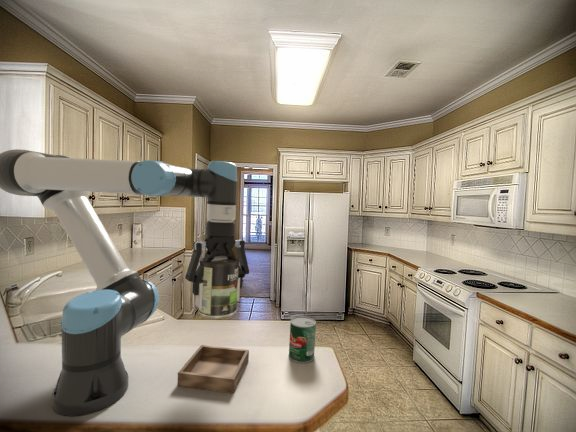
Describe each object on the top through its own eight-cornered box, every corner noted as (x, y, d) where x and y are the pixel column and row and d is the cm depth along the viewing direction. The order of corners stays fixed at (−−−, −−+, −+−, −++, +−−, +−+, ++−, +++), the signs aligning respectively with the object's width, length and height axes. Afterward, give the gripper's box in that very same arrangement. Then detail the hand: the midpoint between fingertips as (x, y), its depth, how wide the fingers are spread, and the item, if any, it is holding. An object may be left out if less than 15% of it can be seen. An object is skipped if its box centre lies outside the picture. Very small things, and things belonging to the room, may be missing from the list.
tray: (177, 386, 76) (177, 372, 75) (201, 356, 90) (201, 345, 90) (233, 393, 74) (234, 379, 74) (248, 361, 88) (248, 350, 88)
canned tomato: (285, 359, 90) (286, 324, 90) (293, 347, 98) (294, 314, 97) (310, 365, 88) (312, 328, 87) (316, 352, 95) (318, 318, 95)
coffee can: (242, 307, 85) (244, 257, 84) (227, 321, 75) (230, 265, 74) (208, 302, 87) (210, 254, 86) (190, 315, 77) (192, 261, 76)
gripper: (183, 222, 70) (180, 316, 71) (264, 221, 84) (260, 300, 85) (173, 219, 75) (170, 306, 77) (250, 219, 89) (247, 292, 91)
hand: (217, 303), depth 81 cm, fingers closed on coffee can, 10 cm apart
